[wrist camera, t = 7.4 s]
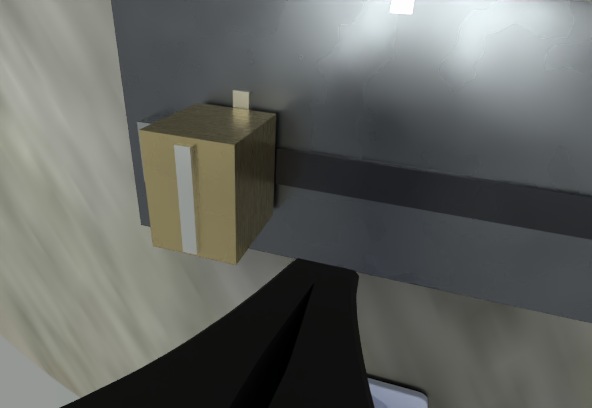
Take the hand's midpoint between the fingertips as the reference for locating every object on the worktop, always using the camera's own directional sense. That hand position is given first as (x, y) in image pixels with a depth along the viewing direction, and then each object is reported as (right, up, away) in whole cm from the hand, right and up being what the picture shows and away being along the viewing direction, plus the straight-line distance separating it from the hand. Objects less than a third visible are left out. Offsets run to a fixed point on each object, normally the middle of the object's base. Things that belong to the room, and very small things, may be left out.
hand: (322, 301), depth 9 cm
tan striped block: (-3, +4, +7) cm, 8 cm away
